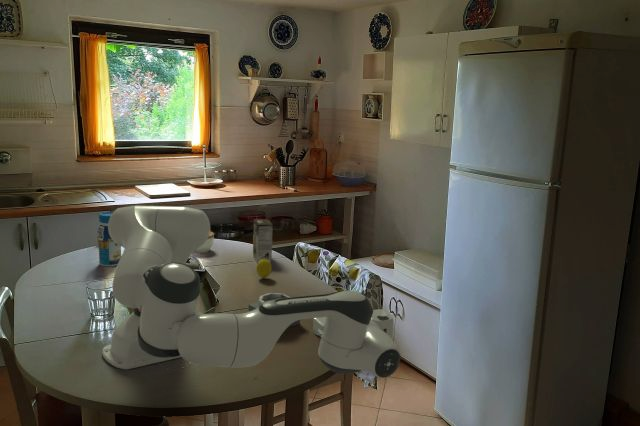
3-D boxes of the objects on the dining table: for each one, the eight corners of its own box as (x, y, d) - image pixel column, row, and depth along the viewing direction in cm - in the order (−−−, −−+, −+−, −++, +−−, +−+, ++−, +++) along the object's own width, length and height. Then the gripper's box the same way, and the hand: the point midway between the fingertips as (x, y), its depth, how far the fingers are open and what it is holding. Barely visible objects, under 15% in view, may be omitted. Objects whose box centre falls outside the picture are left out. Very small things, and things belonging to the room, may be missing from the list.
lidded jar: (196, 256, 230) (196, 234, 228) (183, 249, 238) (183, 228, 236) (218, 252, 237) (218, 230, 235) (206, 246, 245) (206, 225, 243)
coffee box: (252, 256, 234) (252, 218, 230) (267, 255, 236) (268, 218, 232) (256, 263, 225) (257, 224, 221) (271, 262, 227) (273, 223, 223)
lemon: (257, 281, 204) (258, 260, 202) (255, 276, 209) (255, 256, 208) (272, 280, 206) (273, 260, 204) (269, 275, 211) (270, 255, 209)
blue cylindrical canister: (100, 260, 219) (97, 211, 215) (122, 259, 221) (121, 211, 217) (97, 267, 211) (95, 216, 207) (121, 266, 214) (119, 216, 209)
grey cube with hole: (269, 334, 162) (269, 308, 160) (248, 322, 169) (248, 298, 167) (299, 323, 170) (300, 299, 168) (278, 313, 177) (279, 289, 175)
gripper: (321, 349, 135) (304, 325, 148) (397, 340, 142) (375, 318, 155) (322, 325, 134) (305, 303, 147) (399, 317, 140) (376, 297, 153)
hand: (342, 310), depth 151 cm, fingers open, 8 cm apart
